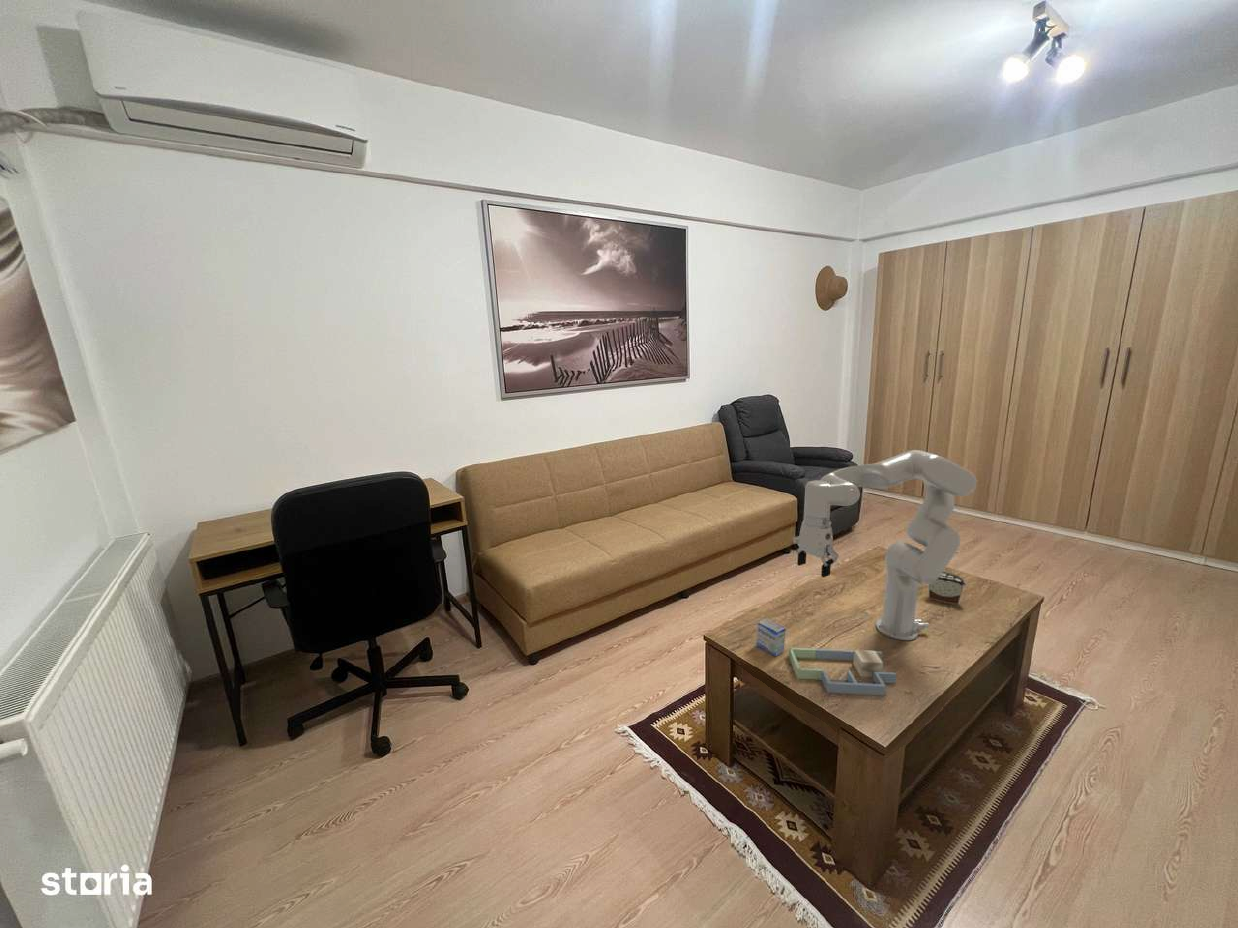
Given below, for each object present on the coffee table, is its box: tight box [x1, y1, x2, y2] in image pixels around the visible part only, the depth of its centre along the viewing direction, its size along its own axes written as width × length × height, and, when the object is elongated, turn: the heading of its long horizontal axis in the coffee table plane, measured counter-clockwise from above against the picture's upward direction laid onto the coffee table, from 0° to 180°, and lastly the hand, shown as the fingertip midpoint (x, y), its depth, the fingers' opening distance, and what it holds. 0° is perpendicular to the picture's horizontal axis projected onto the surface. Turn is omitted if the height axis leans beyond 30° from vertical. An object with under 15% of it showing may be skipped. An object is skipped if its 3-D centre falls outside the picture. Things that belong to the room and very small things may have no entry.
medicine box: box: [755, 618, 787, 657], centre depth 160 cm, size 8×4×9 cm, turn 37°
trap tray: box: [788, 647, 898, 696], centre depth 147 cm, size 28×17×3 cm, turn 84°
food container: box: [928, 570, 967, 606], centre depth 188 cm, size 12×6×10 cm, turn 58°
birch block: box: [852, 649, 884, 678], centre depth 149 cm, size 6×6×5 cm
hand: (813, 569), depth 158 cm, fingers open, 9 cm apart
